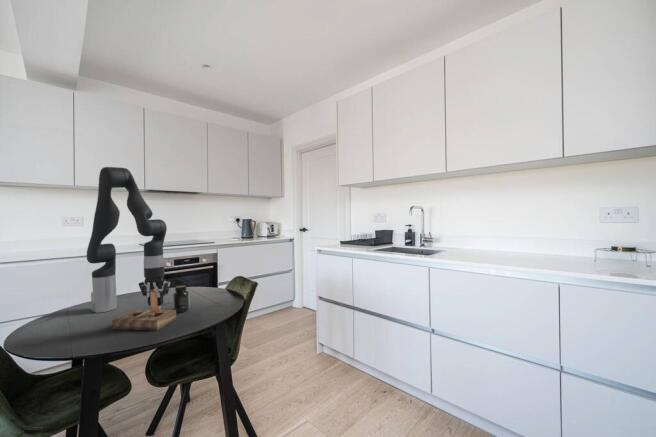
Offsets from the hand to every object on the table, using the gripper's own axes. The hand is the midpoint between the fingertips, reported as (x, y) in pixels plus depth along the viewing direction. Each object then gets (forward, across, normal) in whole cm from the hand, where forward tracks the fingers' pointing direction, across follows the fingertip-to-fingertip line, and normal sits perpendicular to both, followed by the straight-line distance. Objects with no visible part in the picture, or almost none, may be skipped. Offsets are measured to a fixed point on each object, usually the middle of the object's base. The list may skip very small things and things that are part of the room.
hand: (155, 305), depth 120 cm
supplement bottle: (+8, +1, +16) cm, 18 cm away
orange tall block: (+3, 0, 0) cm, 3 cm away
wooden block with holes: (+8, -5, 0) cm, 10 cm away
